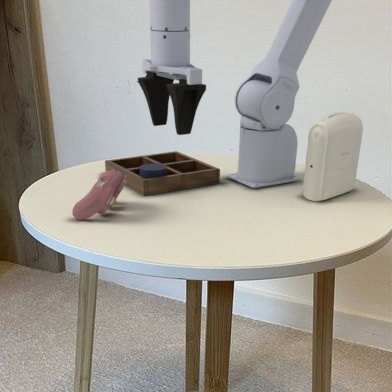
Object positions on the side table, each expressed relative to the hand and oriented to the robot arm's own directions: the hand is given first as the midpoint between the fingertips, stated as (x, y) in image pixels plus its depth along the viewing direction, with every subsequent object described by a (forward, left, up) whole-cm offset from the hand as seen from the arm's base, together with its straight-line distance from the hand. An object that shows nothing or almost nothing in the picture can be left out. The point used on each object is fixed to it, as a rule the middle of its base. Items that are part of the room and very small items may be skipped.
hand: (171, 129), depth 93 cm
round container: (+2, -3, -9) cm, 9 cm away
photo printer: (-21, +15, -10) cm, 27 cm away
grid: (-2, -6, -9) cm, 11 cm away
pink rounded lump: (+14, +5, -10) cm, 18 cm away
